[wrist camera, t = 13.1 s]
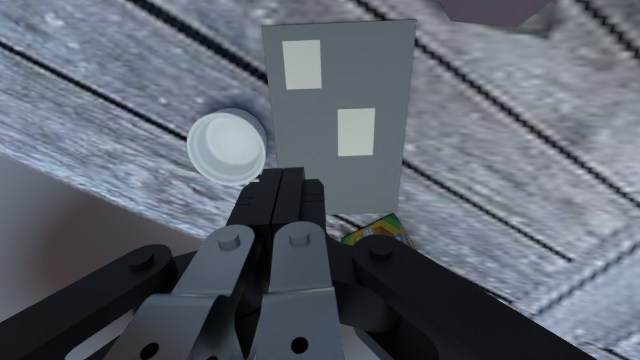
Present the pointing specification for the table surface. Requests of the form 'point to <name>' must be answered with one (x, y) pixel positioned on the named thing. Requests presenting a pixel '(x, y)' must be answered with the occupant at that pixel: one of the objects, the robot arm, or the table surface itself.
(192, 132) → the ramekin
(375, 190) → the label placard
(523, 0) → the flask
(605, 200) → the table surface
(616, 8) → the table surface
